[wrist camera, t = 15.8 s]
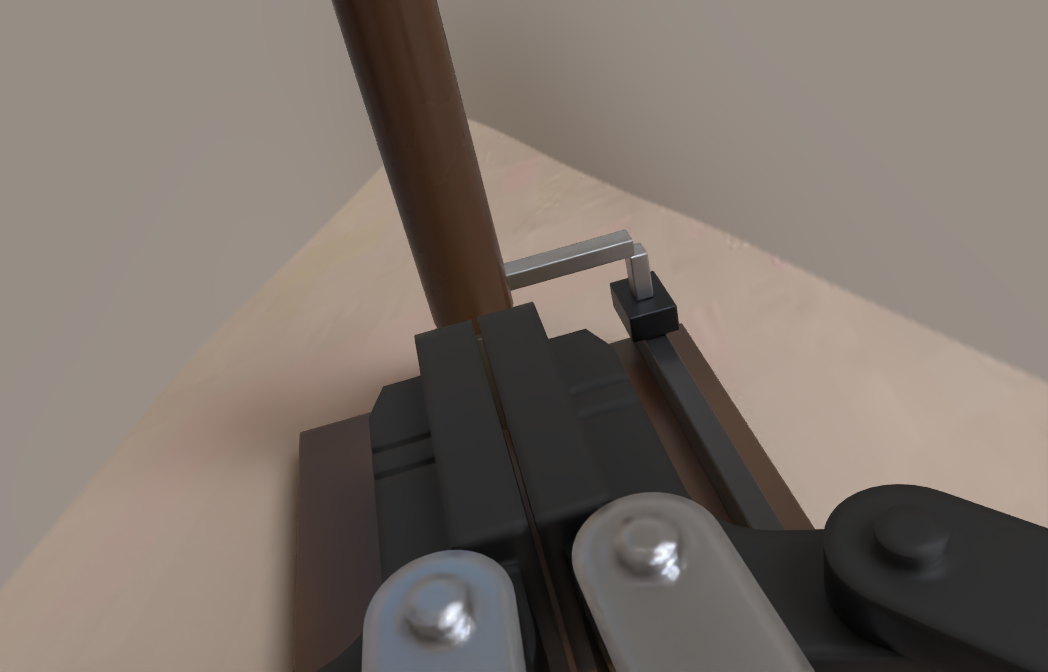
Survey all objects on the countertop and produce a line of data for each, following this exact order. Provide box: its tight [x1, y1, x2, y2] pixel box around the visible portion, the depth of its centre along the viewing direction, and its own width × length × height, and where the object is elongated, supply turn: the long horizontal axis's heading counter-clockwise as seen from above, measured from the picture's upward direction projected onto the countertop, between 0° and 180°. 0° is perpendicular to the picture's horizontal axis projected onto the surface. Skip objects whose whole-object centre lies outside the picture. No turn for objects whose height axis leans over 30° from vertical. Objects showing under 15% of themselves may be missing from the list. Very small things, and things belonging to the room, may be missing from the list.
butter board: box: [293, 323, 815, 672], centre depth 24 cm, size 14×18×5 cm
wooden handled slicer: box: [332, 0, 679, 430], centre depth 26 cm, size 8×6×16 cm
